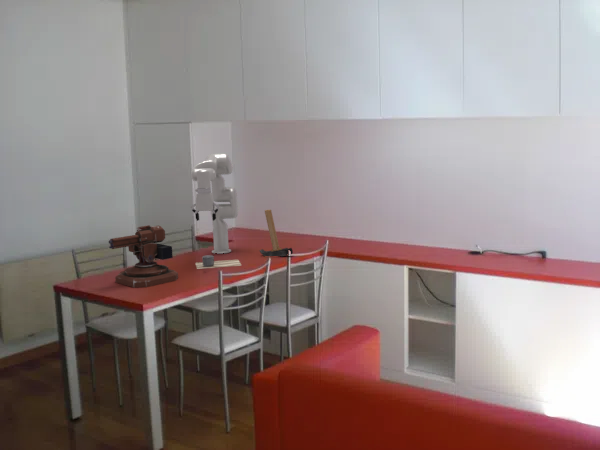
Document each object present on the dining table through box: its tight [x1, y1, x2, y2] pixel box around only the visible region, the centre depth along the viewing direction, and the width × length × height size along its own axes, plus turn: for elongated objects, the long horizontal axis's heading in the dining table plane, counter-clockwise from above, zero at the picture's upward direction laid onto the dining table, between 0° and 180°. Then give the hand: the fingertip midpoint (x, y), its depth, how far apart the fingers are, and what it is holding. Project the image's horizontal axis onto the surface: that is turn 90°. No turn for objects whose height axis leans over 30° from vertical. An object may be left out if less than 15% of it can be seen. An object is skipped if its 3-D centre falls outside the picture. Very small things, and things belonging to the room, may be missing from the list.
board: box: [195, 259, 242, 270], centre depth 416 cm, size 18×26×6 cm
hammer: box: [258, 209, 293, 257], centre depth 439 cm, size 20×5×30 cm, turn 70°
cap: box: [201, 254, 215, 266], centre depth 412 cm, size 7×7×5 cm
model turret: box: [108, 225, 179, 288], centre depth 381 cm, size 28×35×30 cm
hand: (205, 220), depth 408 cm, fingers open, 9 cm apart
